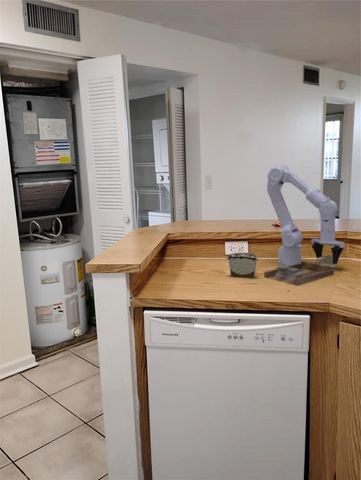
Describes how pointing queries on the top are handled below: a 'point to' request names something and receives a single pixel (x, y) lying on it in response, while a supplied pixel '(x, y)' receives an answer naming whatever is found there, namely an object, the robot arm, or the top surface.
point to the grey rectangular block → (326, 261)
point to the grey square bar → (288, 273)
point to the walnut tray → (304, 273)
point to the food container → (242, 265)
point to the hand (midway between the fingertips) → (327, 262)
